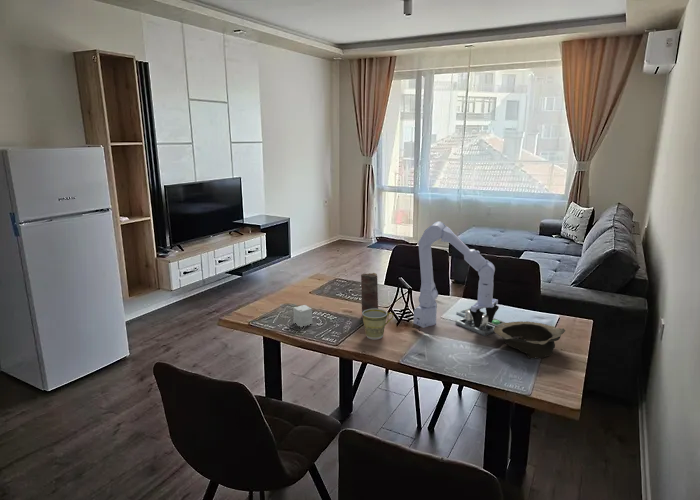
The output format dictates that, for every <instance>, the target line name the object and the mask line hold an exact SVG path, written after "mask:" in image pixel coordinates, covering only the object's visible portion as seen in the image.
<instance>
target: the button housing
mask: <svg viewBox="0 0 700 500" xmlns="http://www.w3.org/2000/svg"><path fill="white" fill-rule="evenodd" d="M493 320H499V321H500V324H502V323H507V322H506V321H503V320H500V319H498V318H497V319H496V318H493ZM488 324H490V325H492V326H497V325H496V324H493V323H490V322H488ZM500 324H498V325H500Z"/></svg>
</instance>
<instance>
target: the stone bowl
mask: <svg viewBox="0 0 700 500" xmlns="http://www.w3.org/2000/svg"><path fill="white" fill-rule="evenodd" d="M493 331H494V333H495V334H496V335H497V336H498V337H501V338H502V340H503V341H504V343H505V344H506V345H507V346H509V347H511V348H513V349H516V350H519V352H522V353H525V354H526V357H527V358H528V359H531V358H534V359H543V358H546V357H549V356H551V355H552V354H553V353H554V349H555V348H556V343H555V342H557V341H559V340H560V339H561V337H562V335H563V334H564V333H566V330H565V328H559V327H558V328H557V327H556V326H554V325H549V324H544V323H541V322H534V321H521V320H520V321H511V322H506V323H502V324H500V325H497V326H495V327H494V330H493Z"/></svg>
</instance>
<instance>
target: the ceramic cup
mask: <svg viewBox="0 0 700 500" xmlns="http://www.w3.org/2000/svg"><path fill="white" fill-rule="evenodd" d="M389 315H390V316H391V315H392V317H391V318H390V319H388V316H389ZM361 316H362V321H363V326H364V331H365V336H366V337H367V339H370V340H373V341H375V340H381V339H382V338H383V336H384V332H385V327H386V325H387V324H389V322H391V321H392V320H393V319H394V313H393V312H387V311H386V310H385V309H380V308H378V309H367V310H364V311H363V312H362V311H361ZM387 319H388V320H387Z"/></svg>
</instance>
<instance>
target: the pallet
mask: <svg viewBox="0 0 700 500" xmlns="http://www.w3.org/2000/svg"><path fill="white" fill-rule="evenodd" d="M455 325H457V326H459V327H462V328H464V329H466V330H468V331H472V332H474V333H476V334H479V335H480V336H483V337H486V336H488V335H492V334H494V333H495V332H494V331H493V330H494V327H495V326H492V325H490V324H488V329H487V330H486V331H483V330H481V329H478V328H477V327H476V326H475V324H473V325H468V324H466V323H465V317H463V318H460V319H457V320H455Z"/></svg>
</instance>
